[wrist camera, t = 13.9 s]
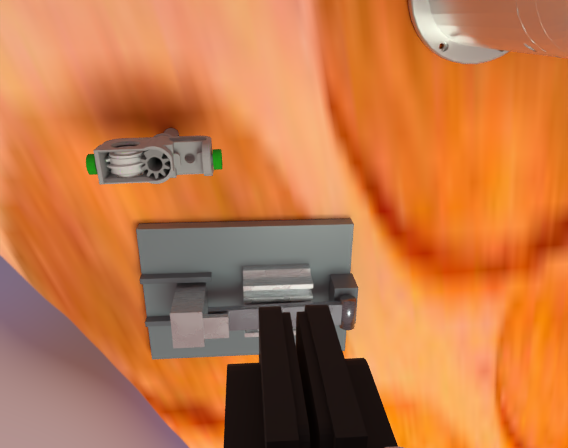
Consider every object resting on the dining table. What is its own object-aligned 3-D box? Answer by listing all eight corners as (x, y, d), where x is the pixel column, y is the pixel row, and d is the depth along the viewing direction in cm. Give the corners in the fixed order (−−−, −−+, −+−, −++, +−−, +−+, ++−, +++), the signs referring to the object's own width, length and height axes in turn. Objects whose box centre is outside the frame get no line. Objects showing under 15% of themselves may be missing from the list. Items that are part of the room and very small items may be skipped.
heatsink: (309, 264, 51) (313, 280, 48) (307, 319, 54) (311, 338, 51) (242, 266, 51) (243, 282, 47) (244, 322, 53) (244, 340, 50)
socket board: (352, 218, 51) (362, 236, 47) (343, 342, 57) (351, 367, 53) (139, 223, 49) (129, 242, 45) (154, 350, 56) (147, 377, 52)
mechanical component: (226, 149, 47) (222, 181, 38) (119, 153, 46) (89, 186, 37) (224, 118, 46) (219, 143, 37) (114, 122, 45) (82, 149, 36)
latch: (229, 280, 51) (227, 311, 45) (230, 312, 52) (229, 346, 47) (177, 281, 50) (169, 313, 45) (180, 314, 52) (173, 348, 47)
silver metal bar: (354, 294, 49) (358, 302, 48) (352, 320, 50) (355, 329, 49) (208, 301, 48) (207, 310, 46) (209, 328, 49) (209, 337, 48)
